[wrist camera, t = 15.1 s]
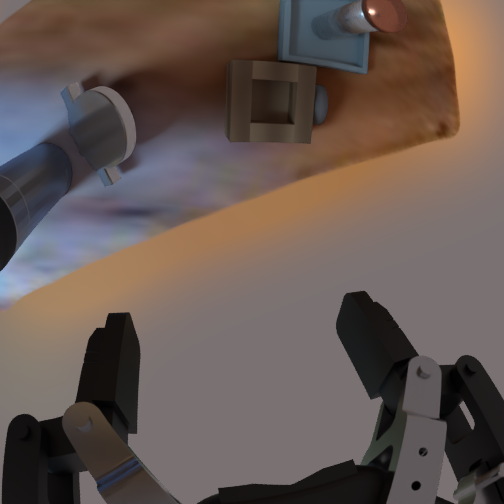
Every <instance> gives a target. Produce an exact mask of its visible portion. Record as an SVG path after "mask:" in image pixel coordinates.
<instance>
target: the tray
mask: <svg viewBox="0 0 504 504" xmlns="http://www.w3.org/2000/svg"><path fill="white" fill-rule="evenodd" d="M355 1H358V0H280V11H279V32H278V52H277V61H279V62H289V63H298V64H306V65H313V66H319V67H325V68H331V69H337V70H342V71H347V72H352V73H357V74H367V69H368V54H369V34H370V32H366V33H361V34H355V35H350V36H345V37H340V38H335V39H331V40H323V39H320V38H319V37H317V36H316V35H315V34H314V32H313V31H312V27H311V23H312V20H313V19H314V18H315V17H317V16H319V15H321V14H323V13H326V12H328V11H331V10H333V9H336V8H338V7H341V6H344V5H346V4H349V3H352V2H355Z"/></svg>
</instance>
